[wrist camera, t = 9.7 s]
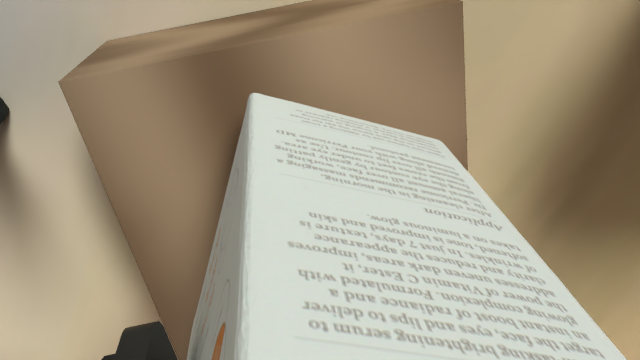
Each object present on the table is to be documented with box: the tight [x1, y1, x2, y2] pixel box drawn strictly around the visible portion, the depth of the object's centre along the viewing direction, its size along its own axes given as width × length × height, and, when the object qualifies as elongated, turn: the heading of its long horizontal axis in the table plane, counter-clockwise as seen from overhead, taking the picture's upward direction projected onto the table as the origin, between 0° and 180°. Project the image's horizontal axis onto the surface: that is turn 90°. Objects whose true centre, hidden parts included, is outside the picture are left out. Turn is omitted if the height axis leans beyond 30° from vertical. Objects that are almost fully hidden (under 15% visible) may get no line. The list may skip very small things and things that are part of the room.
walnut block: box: [59, 0, 468, 360], centre depth 18 cm, size 11×11×5 cm
